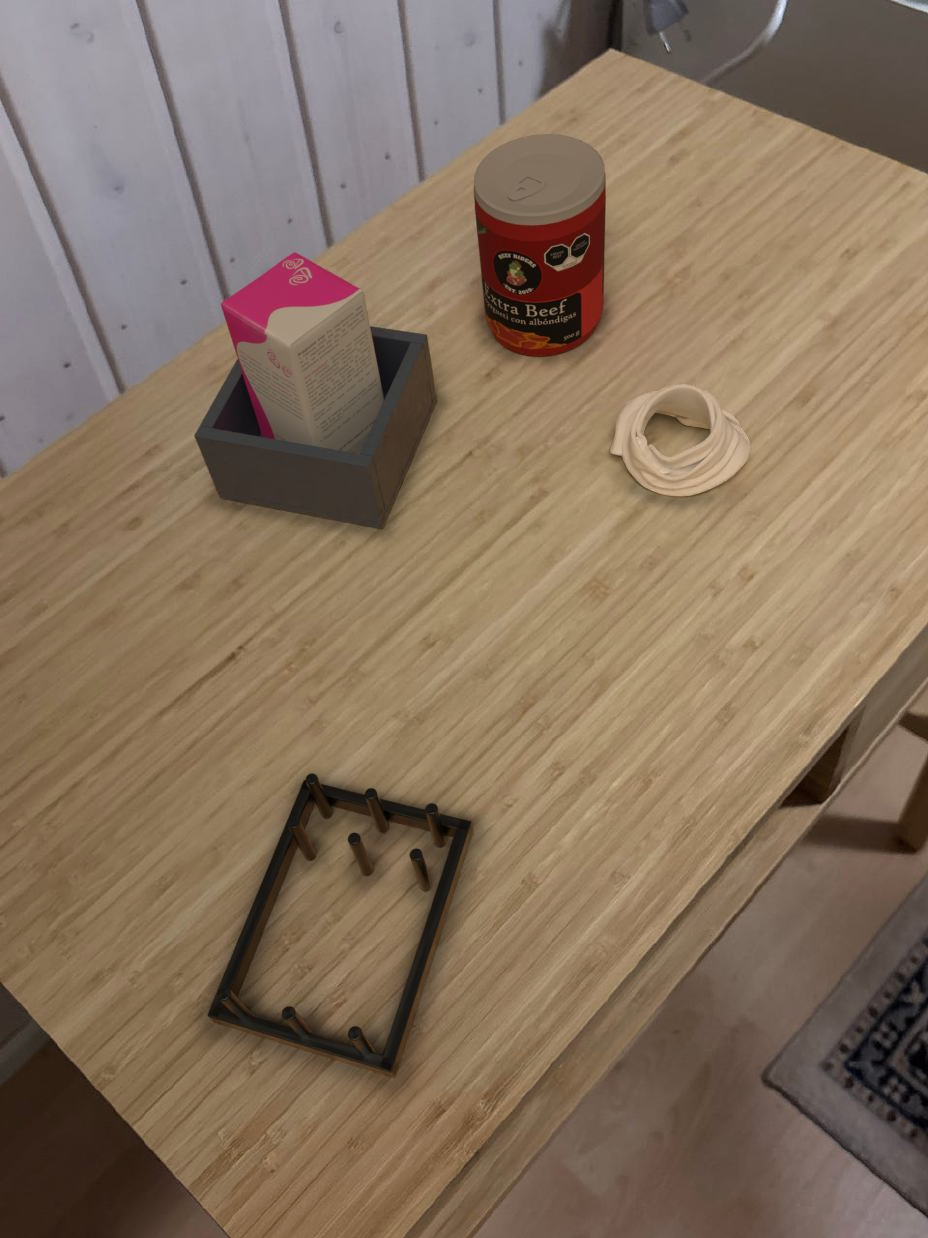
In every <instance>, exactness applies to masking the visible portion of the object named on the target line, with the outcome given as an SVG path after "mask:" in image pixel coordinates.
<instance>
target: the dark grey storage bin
mask: <svg viewBox="0 0 928 1238" xmlns="http://www.w3.org/2000/svg"><path fill="white" fill-rule="evenodd" d="M370 329H371V333H372V339H373V344H374V350H375V355H376V360H377V365H378V370H379V375H380V381H381V386H382V391H383V396H384V402H383V404H382V406H381V409H380V411H379V413H378V415H377V417H376V419H375V422H374V424H373V426H372V428H371V430H370V433H369V435H368V437H367V439H366V441H365V443H364V446H363V448H362V450H361V452H360V454H356V453H350V452H345V451H339V450H333V449H328V448H322V447H316V446H311V445H305V444H299V443H294V442H288V441H282V440H277V439H271V438H265V437H262V434H261V430H260V427H259V424H258V421H257V418H256V414H255V411H254V408H253V405H252V402H251V399H250V396H249V392H248V390H247V386H246V383H245V380H244V376H243V373H242V370H241V367H240V364H239V361H238V358H236V360H235V363H234V364H233V366H232V368H231V369H230V371H229V373H228V375H227V376H226V378H225V380H224V382H223V384H222V385H221V387H220V389H219V391H218V393H217V394H216V396H215V398H214V399H213V401H212V403H211V405H210V407H209V408H208V410H207V412H206V413H205V415H204V417H203V418H202V420H201V422H200V425H199V426H198V428H197V429H196V432H194V433H195V434H194V439H195V442H196V444H197V446H198V448H199V452H200V454H201V456H202V459H203V460H204V463H205V465H206V468H207V471H208V473H209V475H210V478H211V480H212V482H213V486H214V488H215V490H216V492H217V495H218V497H219V499H223V500H227V501H233V502H238V503H243V504H248V505H253V506H259V507H264V508H269V509H275V510H279V511H285V512H290V513H295V514H301V515H306V516H311V517H315V518H321V519H326V520H332V521H337V522H342V523H348V524H353V525H357V526H362V527H367V528H373V529H378V530H383V529H384V527H385V524H386V522H387V520H388V518H389V515H390V513H391V511H392V508H393V506H394V504H395V501H396V499H397V497H398V494H399V491H400V490H401V487H402V485H403V482H404V480H405V478H406V475H407V473H408V471H409V468H410V466H411V464H412V461H413V459H414V457H415V454H416V451H417V449H418V447H419V445H420V443H421V440H422V438H423V435H424V433H425V430H426V428H427V426H428V424H429V421H430V419H431V416H432V415H433V412H434V409H435V407H436V404H437V402H438V397H437V392H436V385H435V378H434V377H435V376H434V371H433V365H432V359H431V357H432V356H431V352H430V351H431V350H430V345H429V344H430V343H429V339H428V334H426V333H419V332H413V331H407V330H399V329H392V328H386V327H379V326H373V325H370Z"/></svg>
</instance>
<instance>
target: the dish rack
mask: <svg viewBox="0 0 928 1238" xmlns="http://www.w3.org/2000/svg"><path fill="white" fill-rule="evenodd" d="M314 805H316V807H317V810H318V811H319V814H320V817H322V818H324V819H330V818H331V817H332V816H333V812H334V811H333V809H332V807H333V808H338V809H340V810H346V811H348V812H353V813H357V814H360V815H365V816H368V817H372V819H373V822H374V825H375V828H376V830H377V832H378V833H381V834H385V833H386V832H388V831H389V828H390V825H389V822H393V823H396V824H400V825H404V826H409V827H412V828H415V829H420V830H424V831H427V832H430V833H431V837H432V840H433V843H434V846H435V847H436V848H444V847H445V846H446V844H447V837H451V838H452V841H451V845H450V847H449V850H448V854H447V857H446V859H445V863H444V865H443V869H442V872H441V875H440V878H439V881H438V885H437V887H436V890H435V894H434V897H433V900H432V903H431V906H430V909H429V911H428V915H427V918H426V921H425V924H424V927H423V930H422V933H421V936H420V939H419V942H418V946H417V949H416V952H415V955H414V957H413V961H412V964H411V967H410V970H409V973H408V976H407V978H406V983H405V986H404V989H403V991H402V995H401V998H400V1001H399V1004H398V1007H397V1010H396V1013H395V1016H394V1019H393V1022H392V1025H391V1029H390V1031H389V1035H388V1038H387V1040H386V1044H385V1047H384V1050H383V1053H382V1054H381V1053H377V1052H376V1050H375V1049H374V1047H373V1046H372V1044H371V1042H370V1041H369V1039H368V1038H367V1036H366V1035H365V1033H364V1032H363V1030H362V1028H361V1027H359V1026H358V1025H353V1026H351V1027H350V1028H349V1029H348V1031H347V1037H348V1039H349V1040H350V1042H351V1043H352V1044H348V1043H345V1042H341V1041H339V1040H335V1039H332V1038H328V1037H325V1036H322V1035H318V1034H316V1033H314V1032H313V1031H312V1030H311V1028H310V1027H309V1026H308V1024H307V1023H306V1022H305V1020H304V1019H303V1017H301V1015H300V1014H299V1012H298V1010H296V1008H295V1007H294V1006H291V1005H287V1006H284V1007H283V1009H282V1010H281V1018H282V1019H283V1020H284V1021H285V1022H286V1024H287V1025H286V1024H283V1023H281V1022H276V1021H274V1020H270V1019H266V1018H263V1017H259V1016H256V1015H253V1013H252V1012H251V1011H250V1010H249V1009H248V1007H247V1006H246V1005H245V1004H244V1003H243V1002H242V1001H241V1000H240V998H239V997H238V994H239V992H240V989H241V988H242V985H243V983H244V980H245V978H246V975H247V973H248V970H249V967H250V965H251V962H252V960H253V958H254V955H255V952H256V951H257V948H258V945H259V942H260V940H261V938H262V935H263V932H264V929H266V928H265V927H266V925H267V922H268V921H269V917H270V915H271V912H272V910H273V907H274V905H275V902H276V900H277V897H278V896H279V893H280V890H281V888H282V886H283V883H284V880H285V877H286V876H287V873H288V871H289V868H290V865H291V862H292V860H293V858H294V855H295V853H296V850H297V847H298V848H299V850H300V852H301V854H302V856H303V858H304V859H305V860H306V861H308V862H309V861H310V862H312V861H313V860H315V859H316V857H317V851H316V849H315V848H314V846H313V843H312V841H311V839H310V838H309V836H308V834H307V832H306V829H305V827H306V826H307V823H308V820H309V817H310V815H311V813H312V810H313V808H314ZM388 821H389V822H388ZM473 834H474V827H473V822H472V820H468V819H465V818H459V817H455V816H452V815H448V814H444V813H440V810H439V807H438V805H437V804H436V803H433V802H429V803H428V804H426V806H425V808H424V809H423V808H419V807H416V806H412V805H406V804H403V803H400V802H395V801H391V800H387V799H385V798H384V799H383V798H380V796H379V794H378V791H377V789H375V788H374V787H369V788H367V789H366V790H365V791H364V794H363V793H360V792H355V791H352V790H347V789H343V788H339V787H335V786H332V785H327V784H323V783H321V782H320V779H319V777H318V775H317V774H316V773H312V772H311V773H308V774H307V775H306V777H305V779H303V781H302V784H301V786H300V788H299V791H298V793H297V795H296V798H295V800H294V803H293V805H292V808H291V810H290V813H289V815H288V817H287V820H286V822H285V824H284V827H283V830H282V832H281V834H280V837H279V838H278V839H279V840H278V842H277V844H276V847H275V849H274V852H273V853H272V857H271V859H270V862H269V863H268V867H267V868H266V871H265V874H264V876H263V879H262V881H261V882H260V885H259V888H258V891H257V892H256V895H255V897H254V900H253V903H252V905H251V907H250V910H249V913H248V914H247V917H246V919H245V922H244V924H243V926H242V929H241V932H240V934H239V936H238V939H237V942H236V944H235V947H234V949H233V951H232V953H231V956H230V959H229V961H228V964H227V966H226V968H225V971H224V973H223V976H222V978H221V981H220V983H219V985H218V988H217V989H216V992H215V995H214V997H213V999H212V1003H211V1004H210V1007H209V1009H208V1012H207V1017H208V1018H209V1019H210V1020H211V1021H212V1022H213V1023H214V1024H217V1025H221V1026H224V1027H227V1028H230V1029H233V1030H236V1031H240V1032H243V1033H247V1034H250V1035H254V1036H257V1037H260V1038H263V1039H266V1040H270V1041H272V1042H275V1043H278V1044H282V1045H285V1046H288V1047H291V1048H295V1049H299V1050H301V1051H305V1052H308V1053H312V1054H315V1055H318V1056H321V1057H324V1058H328V1059H331V1060H334V1061H337V1062H340V1063H344V1064H347V1065H350V1066H353V1067H357V1068H360V1069H364V1070H366V1071H369V1072H373V1073H376V1074H378V1075H379V1074H380V1075H382V1076H386V1077H389V1078H392V1079H395V1078H396V1076H397V1072H398V1070H399V1066H400V1063H401V1060H402V1057H403V1054H404V1051H405V1048H406V1044H407V1041H408V1039H409V1035H410V1032H411V1029H412V1026H413V1022H414V1020H415V1016H416V1013H417V1010H418V1006H419V1003H420V1000H421V998H422V994H423V991H424V988H425V986H426V982H427V978H428V975H429V973H430V970H431V966H432V962H433V960H434V957H435V953H436V950H437V947H438V944H439V941H440V938H441V935H442V931H443V929H444V925H445V922H446V918H447V915H448V912H449V909H450V906H451V903H452V899H453V897H454V893H455V890H456V887H457V884H458V880H459V878H460V875H461V871H462V868H463V865H464V861H465V860H466V855H467V852H468V849H469V847H470V843H471V840H472V837H473ZM446 836H447V837H446ZM347 843H348V845H349V847H350V849H351V851H352V854H353V856H354V859H355V861H356V863H357V866H358V868H359V870H360V873H361V874H362V875H363V876H365V877H369V876H371V875H372V874H373V872H374V865H373V864H372V861H371V859H370V856H369V854H368V851H367V849H366V847H365V844H364V842H363V839H362V837H361V835H360V834H359V833H358V832H352V833H350V834H349V835H348V836H347ZM409 860H410V863H411V865H412V868H413V871H414V874H415V878H416V881H417V884H418V885H419V889H420V890H421V891H422V892H425V893H426V892H427V893H428V892H429V891H430V890H431V889H432V887H433V883H432V879H431V876H430V874H429V870H428V866H427V864H426V863H427V862H426V860H425V857H424V853H423V851H422V850H421V849H420V848H418V847H417V848H413V849H411V850H410V852H409Z"/></svg>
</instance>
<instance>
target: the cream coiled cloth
mask: <svg viewBox="0 0 928 1238" xmlns="http://www.w3.org/2000/svg"><path fill="white" fill-rule="evenodd" d="M655 414H660V415H665V416H670V417H673V418H676V419H677V421H679V423H680V424H682V425H684V426H687V427H693V428H700V429H705V430H709V435H708V436H707V437H706V438H705V439H704V440H703V441H701V442H700V443H698V444H696V445H694V446H691V447H689V448H688V449H685V450H683V451H680V452H679V453H677V454H675V455H672V456H667V455H664V454H663V453H662V452H661V451H660V450H658V448H656V447H655V445H654V444H652V443H650V444H648V439H647V437H646V436H645V435H644V434H645V431H646V427H647V425H648V423H649V422H650V420H651V418H652V417H653V416H654V415H655ZM751 452H752V444H751V441H750V439H749V437H748V434H747V432H746V431H745V430H744V429H743V428H742V424H741V422H740V421H739V419H737V418H736V417H735V416H734V415H733V414H732V413H730V412H729V411H727V410H725V409H723V408H722V406H721V404H720V402H719V401H718V399H717V397H716V396H715V395H714V394H713V393H712V392H710V391H708V390H707V389H704V388H700V387H699V386H696V385H693V384H689V383H677V384H670V385H666V386H664V387H662V388H660V389H659V390H650V391H647V392H644V393H641V394H639V395H636V396H634V397H633V398H631V399H630V400H627V401H626V404H624V406H623V407H622V409H621V411H620V412H619V414H618V416H617V418H616V421H615V431H614V436H613V440H612V443H611V446H610V449H609V453H610V454H612V455H614V456H618V457H622V460H623V463H624V465H625V467H626V469H627V470H628V472H629V473H630V475H631V476H632V477H633V478H634V479H635V480H636V481H637V482H638V483H639V484H640V485H641V486H642V487H643V488H645V489H647V490H649V491H652V492H654V493H657V494H660V495H663V496H670V497H690V496H695V495H698V494H701V493H704V492H706V491H709V490H712V489H714V488H716V487H718V486H720V485H721V484H723V483H725V482H727V481H728V480H730V479H731V478H732V477H733V476H734V475H736V474H737V473H738V472H739V471H740V469H741V468H743V467H744V465H745V464H746V462H748V460H749V458H750V456H751Z"/></svg>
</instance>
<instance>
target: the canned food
mask: <svg viewBox="0 0 928 1238" xmlns="http://www.w3.org/2000/svg"><path fill="white" fill-rule="evenodd" d="M606 174H607V173H606V167H605V162H604V160H603V157H602V156H601V154H600V153H599V152H598V150H596V148H594V147H593V146H592V145H590V144H589V143H587V142H585V141H583V140H582V139H579V138H576V137H572V136H570V135H569V136H568V135H563V134H553V133H542V134H532V135H527V136H522V137H518V138H515V139H512V140H509V141H508V142H505V143H503V144H500V145H499V146H497V147H496V148H495V149H493V150H491V151H490V152H489V153H488V154H487V155H485V156H484V158H482V160H481V161H480V162H479V164H478V165H477V167H476V170H475V172H474V175H473V199H474V213H475V214H474V215H475V224H476V236H477V245H478V254H479V255H478V256H479V265H480V277H481V285H482V297H483V305H484V315H485V316H484V317H485V320H486V324H487V326H488V327H489V330H490V331H491V334H492V335H493V337H494V339H495V340H496V341H497V342H498V343H499V344H500V345H502V346H503V347H504V348H506V349H508V350H509V351H512V352H514V353H517V354H521V355H525V356H531V357H532V356H533V357H544V356H545V357H546V356H554V355H559V354H562V353H565V352H568V351H571V350H572V349H573V350H574V348H576V347H578V346H581V344H582V343H584V342H585V341H587V340H588V339H589V338H590V336H591V335H593V333H594V332H595V330H596V328H597V327H598V325H599V322H600V320H601V317H602V314H603V310H604V294H605V293H604V291H605V253H606V252H605V251H606V250H605V249H606V246H605V245H606V210H607V209H606V203H607V193H606V192H607V190H606V189H607V188H606V187H607V185H606V184H607V176H606Z"/></svg>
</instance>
